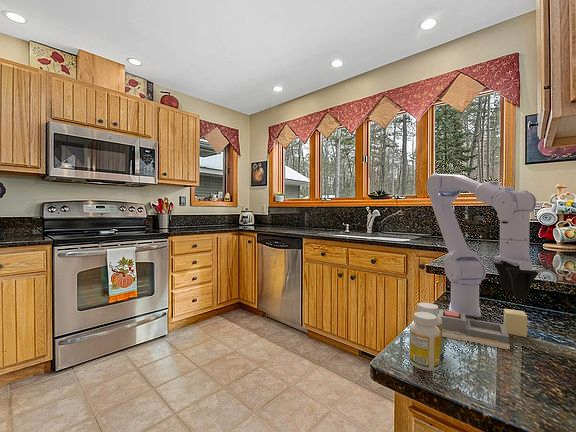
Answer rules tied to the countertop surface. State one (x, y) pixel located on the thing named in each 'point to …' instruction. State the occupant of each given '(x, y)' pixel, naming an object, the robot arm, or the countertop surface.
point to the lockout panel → (474, 330)
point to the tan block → (515, 322)
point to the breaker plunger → (452, 314)
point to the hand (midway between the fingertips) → (513, 294)
